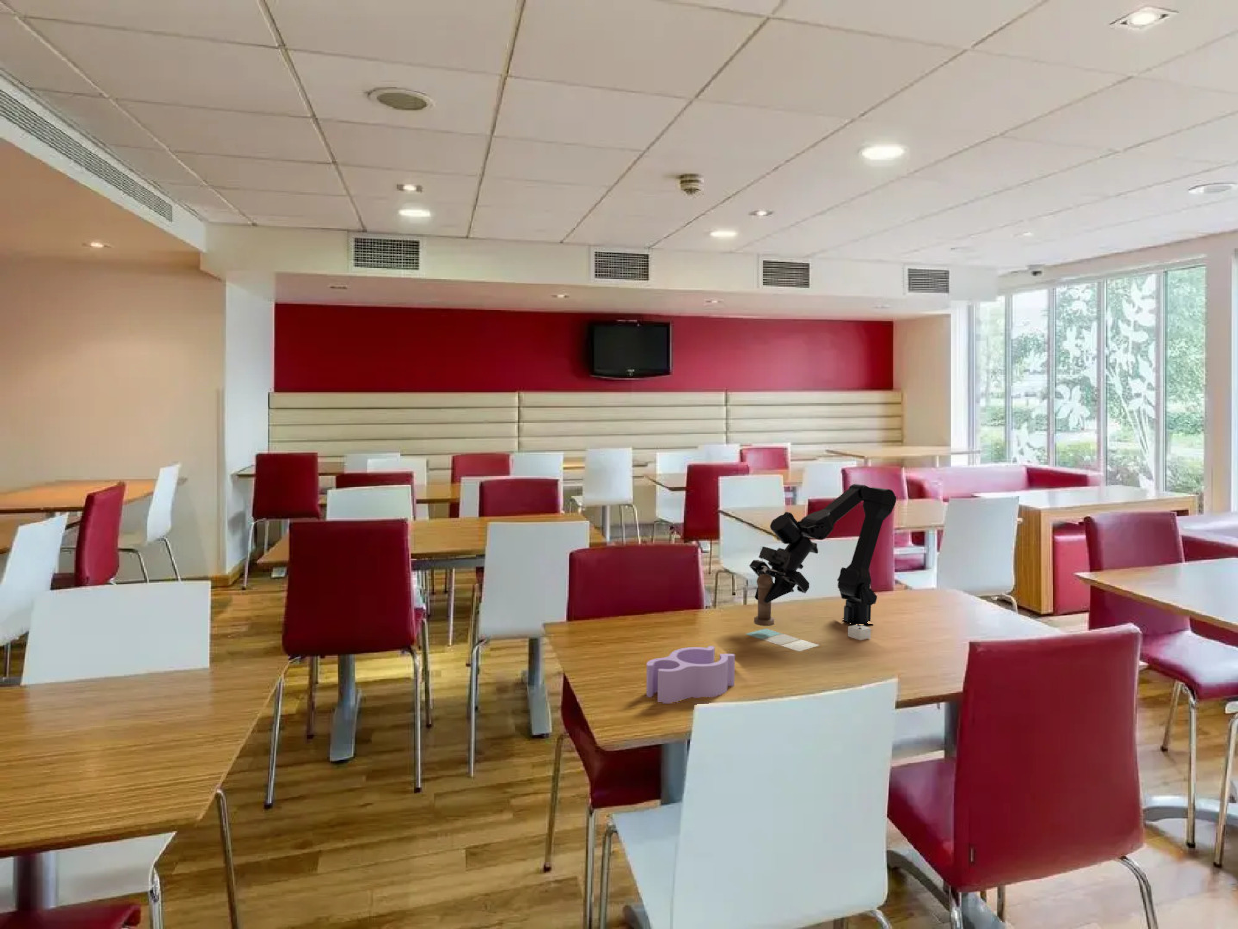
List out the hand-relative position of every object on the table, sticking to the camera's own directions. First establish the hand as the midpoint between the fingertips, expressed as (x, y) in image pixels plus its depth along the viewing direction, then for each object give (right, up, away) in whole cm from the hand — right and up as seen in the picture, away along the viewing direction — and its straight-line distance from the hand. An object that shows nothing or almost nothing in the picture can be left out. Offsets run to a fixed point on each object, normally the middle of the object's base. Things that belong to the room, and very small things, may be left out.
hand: (760, 600), depth 195 cm
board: (+5, -11, -3) cm, 12 cm away
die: (+26, -11, -1) cm, 28 cm away
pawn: (+1, -6, +1) cm, 6 cm away
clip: (-22, -13, -34) cm, 43 cm away
